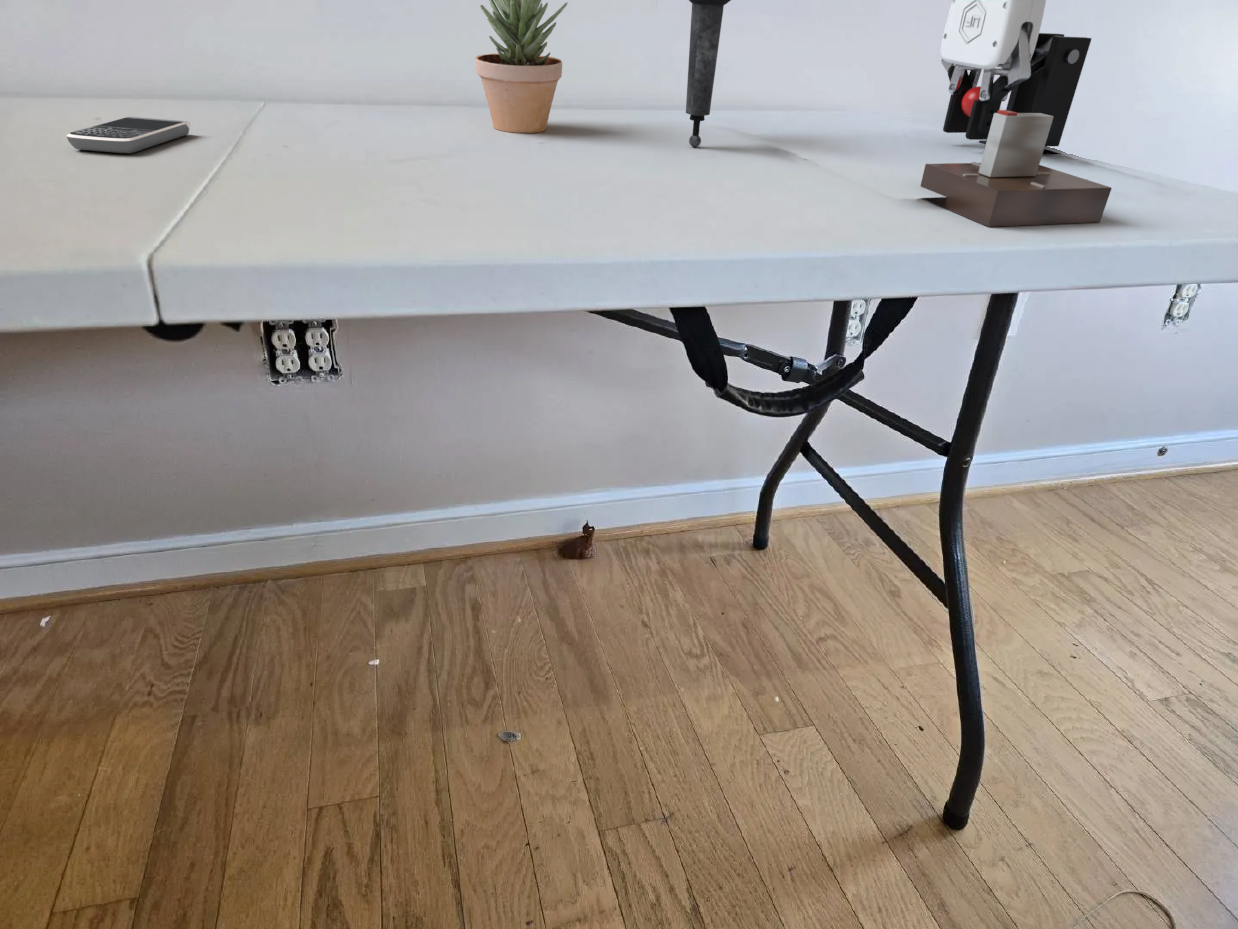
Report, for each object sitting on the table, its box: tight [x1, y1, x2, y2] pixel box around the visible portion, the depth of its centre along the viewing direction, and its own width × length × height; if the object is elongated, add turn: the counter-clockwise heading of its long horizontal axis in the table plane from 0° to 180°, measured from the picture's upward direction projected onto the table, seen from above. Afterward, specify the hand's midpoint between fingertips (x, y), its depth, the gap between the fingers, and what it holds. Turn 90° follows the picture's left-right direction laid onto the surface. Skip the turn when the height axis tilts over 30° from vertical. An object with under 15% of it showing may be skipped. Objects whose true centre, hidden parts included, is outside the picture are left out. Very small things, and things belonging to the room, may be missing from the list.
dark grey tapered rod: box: [685, 0, 732, 148], centre depth 89 cm, size 7×7×20 cm
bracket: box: [978, 32, 1092, 156], centre depth 96 cm, size 8×7×13 cm
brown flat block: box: [920, 161, 1113, 228], centre depth 76 cm, size 12×10×3 cm
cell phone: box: [66, 116, 191, 155], centre depth 80 cm, size 6×11×1 cm, turn 174°
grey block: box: [978, 109, 1053, 177], centre depth 74 cm, size 5×2×5 cm, turn 108°
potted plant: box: [475, 0, 568, 134], centre depth 91 cm, size 10×10×25 cm
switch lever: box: [961, 35, 1065, 117], centre depth 94 cm, size 13×3×3 cm, turn 109°
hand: (967, 133), depth 96 cm, fingers closed on switch lever, 3 cm apart
